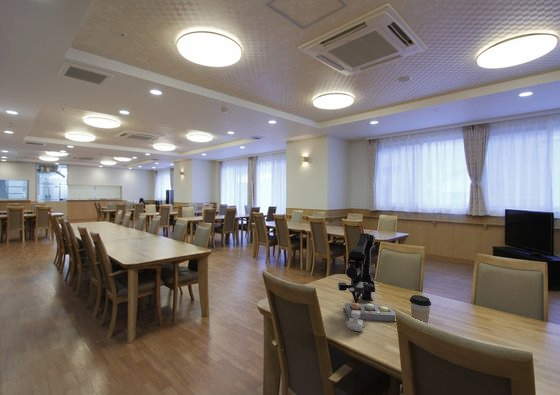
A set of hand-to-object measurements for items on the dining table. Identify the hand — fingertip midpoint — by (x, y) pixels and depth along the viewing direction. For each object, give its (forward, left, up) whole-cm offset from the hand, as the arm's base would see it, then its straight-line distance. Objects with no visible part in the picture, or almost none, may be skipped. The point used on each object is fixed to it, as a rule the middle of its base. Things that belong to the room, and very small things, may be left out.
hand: (355, 303), depth 151 cm
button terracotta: (0, 0, -4) cm, 4 cm away
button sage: (0, +7, -4) cm, 8 cm away
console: (0, +7, -6) cm, 9 cm away
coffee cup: (+14, +27, -6) cm, 31 cm away
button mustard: (0, +15, -5) cm, 16 cm away
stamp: (+18, -4, -6) cm, 19 cm away
